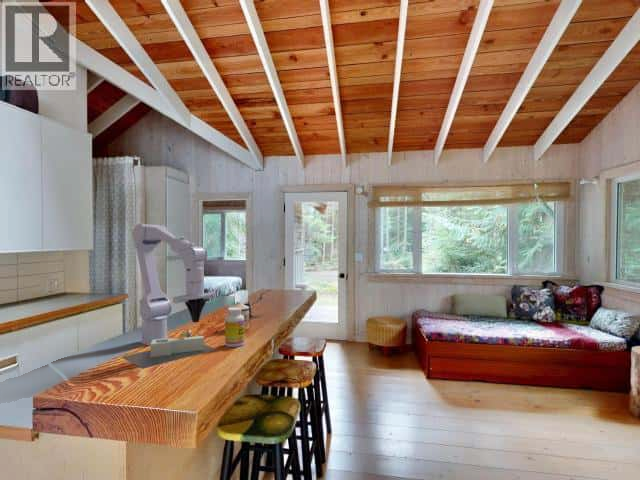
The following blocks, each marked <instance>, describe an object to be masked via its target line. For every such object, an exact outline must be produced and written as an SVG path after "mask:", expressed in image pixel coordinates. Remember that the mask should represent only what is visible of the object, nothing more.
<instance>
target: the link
mask: <svg viewBox="0 0 640 480" xmlns="http://www.w3.org/2000/svg"><path fill="white" fill-rule="evenodd" d="M204 345H205V337H204V335H199V336H197V335H196V336H191V337H186V336H185V337H178V338H177V337H176V338H173V337H167V338H165V339H155V340H152V342H151V346H150V350H151V357H156V356H165V355H171V354H172V353H180V352H189V351H198V350H204Z"/></svg>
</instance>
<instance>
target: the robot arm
mask: <svg viewBox="0 0 640 480" xmlns="http://www.w3.org/2000/svg"><path fill="white" fill-rule="evenodd" d="M131 236H132V239H133V244H134V248H135V249H136V254H137V259H138V264H139V269H140V274H141V280H142V284H143V289H144V293H145V294H144V295H143V296H142V297H141V299H139V315H140V317H141V318H142V319H143V322H142V325H141V339H142V340H141V341H139V342H140V343H141V344H144V345H147V346H148V347H151V342H152V340H155V339H165V338H168V318H169V317H170V315H171V313H172V309H173V306H172V303H173V304H180V303H185V306H186V308H187V309H188V311H189V314H190V317H191V320H192V321H191V322H192V323H199V322H200V318H201V314H202V310H203V309H204V308H205V307H204V306H205V305H206V300H208V299H216V298H217V292H215V291H214V292H213V291H211V292H205V283H204V282H205V278H204V277H205V274H204V273H205V271H204V263H205V262H206V261H207V258H208V251H207V249H206V248H205V247H204V246H203V245H198V246H197V245H195V243H194V242H190V241H189V240H187V238H186V237H185V236H175V235H174V234H173V233H171V232H170V231H169V230H168V229H167V227H166V226H164V225H163V224H151V223H149V224H148V223H147V224H145V223H137V224H135V226H134V227H133V229H132V233H131ZM161 242H162V243H165V244H167V245H169V247H170V249H171V251H173V252H174V253H175V254H177V255H178V256H180V257H181V260H182V262H183V264H184V265H183V267H184V269H185V289H186V290H185V294H184V295H183V294H182V295H178V296H173V297H172V302H171V301H170V298H169V295H168V294H167V293H165V292H163V291H162V289H161V284H160V279H159V275H158V269H157V266H156V262H155V261H156V260H155V257H154V256H155V255H154V250H155V249H156V248H158V246H159V245H160V244H161Z"/></svg>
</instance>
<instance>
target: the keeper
mask: <svg viewBox="0 0 640 480" xmlns="http://www.w3.org/2000/svg"><path fill="white" fill-rule="evenodd" d="M191 332H192V331H191V329H186V330H184V331H183V332H181V333H180V337H179V338H186V337H192V336H191V334H192V333H191Z"/></svg>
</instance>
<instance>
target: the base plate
mask: <svg viewBox="0 0 640 480" xmlns="http://www.w3.org/2000/svg"><path fill="white" fill-rule="evenodd" d="M216 350H218V349H217V348H215V347H212V346H210V345H207V344H204V350H198V351H189V352H180V353H172V354H171V355H165V356H156V357H151V349H149V350H145V351H141V352H136V353H132V354H128V355H123V356H121V358H122V359H125V360H126V361H127V362H130V363H132V364H133V365H135V366H137V367H139V368H140V369H147V368H152V367H154V366H155V367H156V366H158V365H163V364H168V363H171V362H175V361H178V360H182V359H185V358H190V357H194V356H196V355H197V356H198V355H202V354H206V353H208V352H212V351H216Z"/></svg>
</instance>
